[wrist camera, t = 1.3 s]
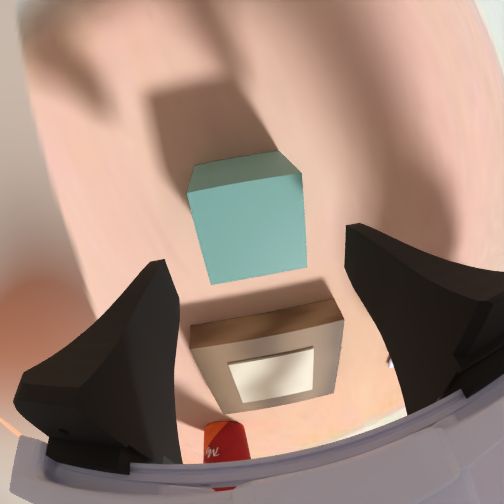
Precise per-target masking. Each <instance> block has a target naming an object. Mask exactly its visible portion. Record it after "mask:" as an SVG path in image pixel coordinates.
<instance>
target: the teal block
mask: <svg viewBox="0 0 504 504" xmlns="http://www.w3.org/2000/svg"><path fill="white" fill-rule="evenodd" d="M187 197H188V201H189V205H190V209H191V213H192V217H193V221H194V225H195V228H196V232H197V236H198V240H199V243H200V247H201V251H202V254H203V258H204V262H205V265H206V269H207V272H208V276H209V279H210V283H211V285H213V284H219V283H225V282H231V281H236V280H242V279H247V278H253V277H258V276H264V275H269V274H274V273H280V272H285V271H290V270H295V269H300V268H306V267H307V250H306V230H305V213H304V198H303V184H302V173H301V172H300V171H299V170H298V169H297V168H296V167H295V166H294V165H293V164H292V163H291V162H290V161H289V160H288V159H287V158H286V157H285V156H284V155H283V154H282V153H281V152H280V151H274V152H267V153H260V154H254V155H247V156H241V157H236V158H230V159H224V160H219V161H214V162H209V163H204V164H199V165H195V166H194V169H193V173H192V176H191V179H190V183H189V186H188V190H187Z"/></svg>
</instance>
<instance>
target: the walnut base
mask: <svg viewBox="0 0 504 504" xmlns="http://www.w3.org/2000/svg"><path fill="white" fill-rule="evenodd" d="M343 327H344V318H343V316H342V313H341V311H340V309H339V307H338V305H337V303H336V301H335V299H334V298H333V299H329V300H324V301H320V302H315V303H311V304H306V305H302V306H297V307H292V308H287V309H283V310H278V311H273V312H267V313H262V314H257V315H252V316H246V317H241V318H235V319H229V320H223V321H217V322H211V323H205V324H198V325H192V326H191V327H190V347H189V349H190V351H191V353H192V355H193V358H194V360H195V362H196V364H197V366H198V367H199V369H200V371H201V373H202V375H203V377H204V379H205V381H206V383H207V385H208V387H209V389H210V390H211V392H212V394H213V396H214V398H215V400H216V401H217V403H218V405H219V407H220V409H221V410H222V412H223V414H231V413H238V412H245V411H252V410H258V409H264V408H270V407H275V406H280V405H285V404H290V403H295V402H299V401H304V400H308V399H312V398H316V397H320V396H324V395H328V394H332V393H334V388H335V383H336V377H337V371H338V364H339V358H340V351H341V343H342V336H343Z"/></svg>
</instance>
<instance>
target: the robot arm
mask: <svg viewBox="0 0 504 504" xmlns="http://www.w3.org/2000/svg"><path fill="white" fill-rule="evenodd" d="M344 268H345V270H346V272H347V275H348V277H349V279H350V281H351V284H352V286H353V288H354V289H355V291H356V293H357V294H358V296H359V298H360V299H361V301H362V303H363V304H364V306H365V307H366V309H367V311H368V312H369V314H370V316H371V317H372V319H373V321H374V322H375V324H376V326H377V328H378V330H379V331H380V333H381V335H382V338H383V340H384V342H385V345H386V347H387V350H388V352H389V355H390V357H391V358H390V361H389V363H388V367H389V368H392V367H394V368H395V371H396V374H397V377H398V381H399V384H400V387H401V391H402V394H403V398H404V402H405V407H406V411H407V416H406V417H403V418H401V419H399V420H396V421H394V422H391V423H389V424H386V425H384V426H381V427H378V428H376V429H373V430H370V431H367V432H364V433H361V434H358V435H355V436H352V437H349V438H346V439H343V440H339V441H336V442H332V443H329V444H325V445H321V446H317V447H313V448H309V449H305V450H300V451H296V452H291V453H286V454H281V455H275V456H269V457H263V458H256V459H249V460H241V461H232V462H221V463H206V464H183V463H182V457H181V451H180V445H179V439H178V431H177V422H176V411H175V396H174V366H175V357H176V348H177V339H178V331H179V322H180V302H179V296H178V294H177V291H176V289H175V286H174V283H173V281H172V278H171V275H170V273H169V270H168V267H167V265H166V262H165V259H162V260H157V261H152V262H149V263H148V264H147V265H146V267H145V268H144V269H143V270H142V271H141V272H140V273H139V275H138V276H137V277H136V278H135V279H134V280H133V282H132V283H131V284H130V285H129V286H128V288H127V289H126V290H125V291H124V292H123V293H122V294H121V296H120V297H119V298H118V299H117V300H116V301H115V302H114V303H113V304H112V306H111V307H110V308H109V309H108V310H107V311H106V312H105V313H104V314H103V315H102V316H101V317H100V318H99V319H98V320H97V321H96V322H95V323H94V324H93V325H92V326H90V327H89V328H88V329H87V330H86V331H85V332H84V333H82V334H81V335H80V336H78V337H77V338H76V339H75V340H74V341H72V342H71V343H70V344H69V345H67V346H66V347H65V348H63V349H62V350H60V351H59V352H57V353H56V354H54V355H53V356H51V357H50V358H48V359H47V360H45V361H43V362H41V363H40V364H38V365H37V366H34V367H33V368H31V369H29V370H27V371H26V372H24V373H23V375H22V378H21V380H20V383H19V386H18V389H17V392H16V394H15V397H14V401H13V403H14V405H15V407H16V409H17V411H18V412H19V413H20V414H21V415H22V416H23V417H24V418H25V419H26V420H28V421H29V422H30V423H31V424H33V425H34V426H35V427H37V428H38V429H39V430H41V431H42V432H43V433H45V434H46V435H47V436H49V441H48V444H47V443H45V442H43V441H40V440H37V439H34V438H30V437H26V436H23V435H21V436H20V437H19V442H18V446H17V451H16V455H15V460H14V466H13V471H12V477H11V483H10V492H11V493H13V494H15V495H17V496H19V497H21V498H23V499H25V500H27V501H29V502H31V503H33V504H504V272H499V271H491V270H485V269H480V268H475V267H470V266H466V265H463V264H459V263H455V262H452V261H448V260H445V259H442V258H440V257H437V256H434V255H431V254H428V253H426V252H423V251H421V250H419V249H416V248H414V247H412V246H409V245H407V244H405V243H403V242H401V241H399V240H397V239H394V238H392V237H390V236H388V235H386V234H384V233H382V232H380V231H378V230H376V229H373V228H371V227H369V226H366V225H364V224H361V223H357V224H351V225H346V242H345V265H344ZM234 486H237V487H236V488H234V489H233V490H225V491H217V492H215V490H214V489H212V488H220V487H234Z"/></svg>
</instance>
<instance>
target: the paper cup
mask: <svg viewBox="0 0 504 504" xmlns="http://www.w3.org/2000/svg"><path fill="white" fill-rule="evenodd" d="M249 459H251V457H250V452H249V448H248V443H247V438H246V434H245V429H244V426H243V425H242V424H240V423H237V422H232V421H220V422H214V423H211V424H208V425H207V426H206V427H205V431H204V461H203V464H206V463H221V462H232V461H241V460H249ZM236 487H237V486H234V487H220V488H212V489H214V490H215V492H217V491H225V490H233V489H234V488H236Z"/></svg>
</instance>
